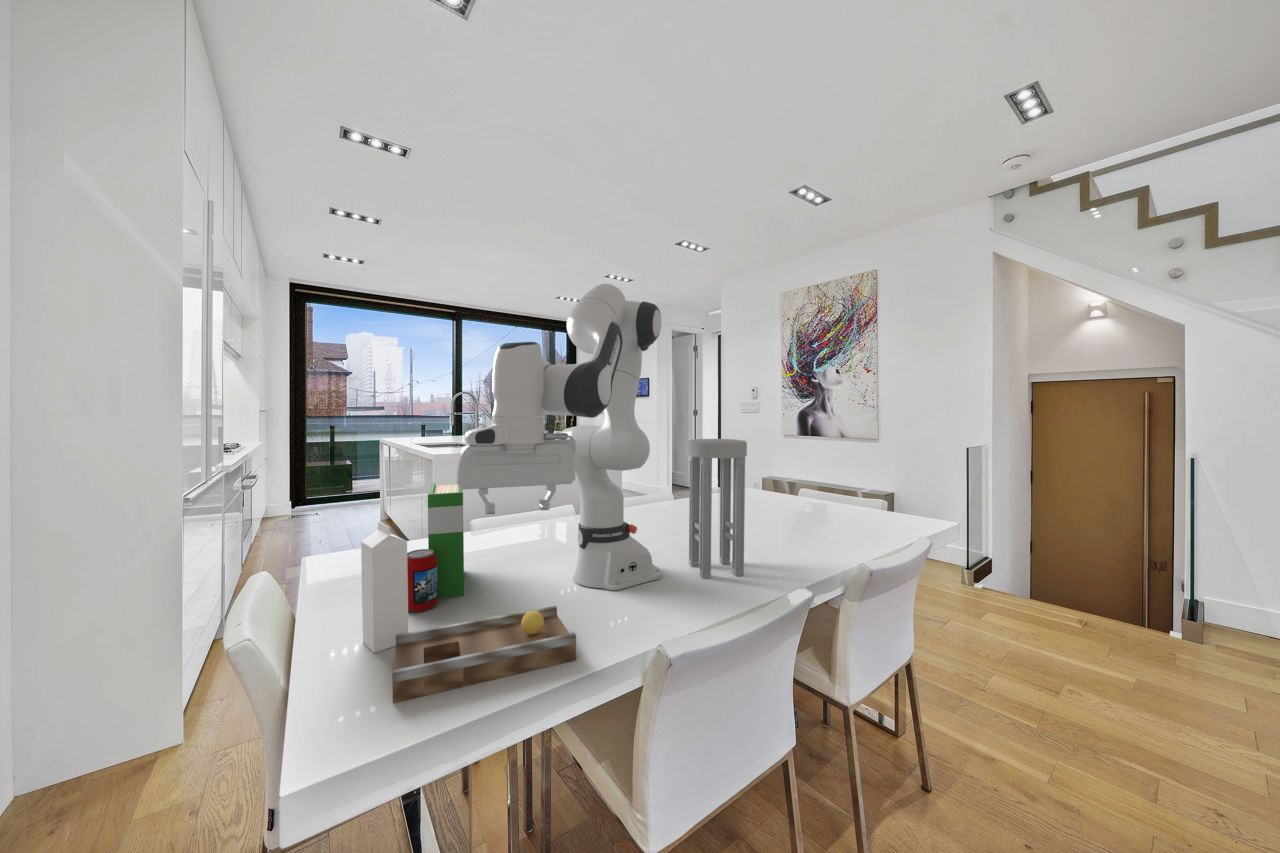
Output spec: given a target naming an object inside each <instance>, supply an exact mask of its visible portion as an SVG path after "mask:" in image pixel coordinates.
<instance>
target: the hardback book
mask: <svg viewBox="0 0 1280 853" xmlns="http://www.w3.org/2000/svg"><path fill="white" fill-rule="evenodd" d="M427 532H428V535H427V536H428V546H427V547H428V548H427V549H430V550H433V551H434V554H435V556H436V557H437V579H438V600H441V599H448V598H449V599H450V598H456V597H464V596H465V562H464V560H465V559H464V558H465V557H464V556H465V555H464V553H465V552H464V551H465V550H464V546H465V545H464V541H465V540H464V536H465V535H464V489H461V488H460V487H459V486H458V485H457V484H442V485H436V482H431V483H430V486H429V489H428V492H427Z"/></svg>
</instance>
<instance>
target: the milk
mask: <svg viewBox="0 0 1280 853" xmlns="http://www.w3.org/2000/svg"><path fill="white" fill-rule="evenodd" d="M390 528H391V527H390V526H389V525H386V524H385V523H382V522H381V521H378V522H377V530H375V531H374V532H373V533H371V534H370V535H368V536H367V537H366V538H364V539H362V540H361V541H360V550H361V551H360V552H361V553H360V556H361V600H362V601H361V606H362V608H361V609H362V613H361V614H362V616H361V617H362V642H363V643H364V645H365V646H367V647H368V649H369V650H370V651H371V652H372V653H373V654H376V653H379V652H382V651H385V650H387V649H390V648H393V647H396V634H401V633H407V632H409V610H408V571H407V553H408V541H407V540H405V539H403V538H402V537H399V536H397V535H396V534H393V533H391V529H390Z"/></svg>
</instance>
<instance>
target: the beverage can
mask: <svg viewBox="0 0 1280 853" xmlns="http://www.w3.org/2000/svg"><path fill="white" fill-rule="evenodd" d="M407 571H408V612H412V613H420V612H424V611H428V610H430V609H432V608H434V606H436V604H437V603H438V600H439V599H438V579H437V557H436V556H435V554H434V551H433V550H430V549H428V548H423V549H415V550H411V551H409V552H408V551H407Z"/></svg>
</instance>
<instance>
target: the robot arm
mask: <svg viewBox="0 0 1280 853" xmlns="http://www.w3.org/2000/svg"><path fill="white" fill-rule="evenodd" d="M566 319H567V320H566V326H565V327H566V331H567V335H568V337H569V339H570V341H571V343H572V344H573V345H574V346H575V347H576V348H577V349H579V350H580V351H582V352H583V353H585V354H589V355H592V357H591V359H589V360H587V361H585V362H580V363H573V364H572V363H568V364H567V363H566V364H552V363H550V362H549V361H548V360H546V359H545V358H544V356H543V351H542V347H541V344H539V343H537V342H536V341H522V342H505V343H502V344H501V345H499V346H498V347H497V348H496V351H495V354H494V357H493V364H492V365H493V366H492V380H491V381H492V382H491V383H492V386H491V387H492V388H491V389H492V395H493V399H494V404H493V405H494V406H493V410H492V413H491V414H492V415H491V423H490V424H488V425H482V426H480V427H477V428H474V429H470V430H467V431H466V432H465V433H464V442H465V443H466V445H465V446H464V447H462V448H461V450H460V452H459V457H458V460H457V461H458V462H457V469H456V485H458V486H459V487H460V488H461V489H463V490H475V489H476V490H477V489H478V490H477V491H478V492H477V493H478V495H479V497H480V498H481V500H482V501H483V503H484V513H485V515H495V513H496V510H495V508H496V503H495V502H494V501H493V502H489V500H488V498H487V496H486V495H489V489H496V488H497V489H498V488H518V487H535V486H538V487H539V486H545V490H546V491H547V492H546V494H545V496H544V498H541V499H539V505H538V506H539V510H540V511H549V510H550V505H551V504H550V501H552V498H553V497H554V495H555V493H556V491H557V485H571V484H573V482H574V481H575V483H576V486H577V491H578V496H579V523H578V530H577V542H578V548H579V549H578V556H577V557H578V558H577V564H576V566H575V571H574V576H573V580H574V582H575V583H577V584H579V585H581V586H583V587H588V588H594V589H595V588H596V589H597V588H598V589H605V590H609V591H618V590H622V589H626V588H630V587H634V586H637V585H641V584H644V583H648V582H652V581H655V580H656V581H657V580H659V579H662V571H661V569H660V568H659V567H658V566H656V565H655V564H653V559H652V554H651V552H650V551H649V549H648V548H647V547H646V546H644V545H643V544H642V543H640V542H639V541H637V540H636V539H635V538H634V537H632V536H631V534H633V535H635V534H637V532H638V527H637V526H636V525H634V524H630V523H628V522H625V521H624V507H625V506H624V502H625V501H624V500H625V499H624V494H623V491H622V489H621V488H620V487H619V486H618V485H616V484H615V483H614V482H613V481H612V480H611V479H610V477H609V475H608V471H610V470H611V471H629V470H630V471H631V470H635V469H640V468H642V467H643V466H644V465H645V464H646V462H647V461H648V458H649V455H650V452H651V445H650V441H649V438H648V436H647V435H646V433H645V432H644V431H643V430H642V428H640V426H639V424H638V423H637V420H636V416H635V415H636V414H635V405H636V400H637V395H638V389H639V385H640V382H641V380H640V379H641V374H642V366H643V362H642V361H643V353H642V352H645V351H647V350H648V349H649V347H650V346H651V345H653V344H654V343H655V341H657V339H658V338H659V336H660V334H661V330H662V326H663V324H662V323H663V322H662V321H663V319H662V316H661V311H660V308H659V307H658V306H657V304H655V303H652V302H648V301H641V302H640V301H636V300H626V297H625V295H624V293H623V292H622V291H621V290H620V289H619V288H618V287H617V286H615V285H613V284H610V283H601V284H598V285H596V286H594V287H592V289H590V290H589V291H588V292H586V293H585V294H584V295H583V296H582V297H581V298H579V300H578V302H577V303H576V304H575V305H574V307H572V309H571V310H570V312H569V313H568V316H567V318H566ZM601 414H602V415H604V418H603V423H602V425H586V424H584V425H581V424H580V425H576V426H571V427H567V428H565V429H563V430H562V431H561V432H560V433H555V432H554V433H553V432H551V433H550V432H549V433H548V432H545V416H546V415H547V416H549V415H550V416H575V417H581V418H582V417H583V418H590V419H591V418H592V419H593V418H596V417H598V416H599V415H601ZM607 470H608V471H607Z"/></svg>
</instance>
